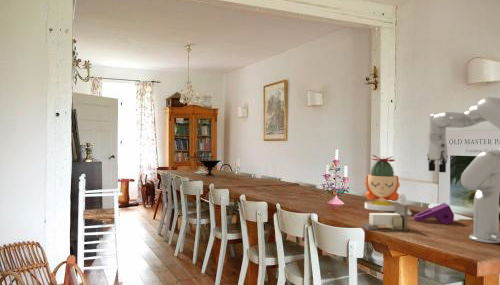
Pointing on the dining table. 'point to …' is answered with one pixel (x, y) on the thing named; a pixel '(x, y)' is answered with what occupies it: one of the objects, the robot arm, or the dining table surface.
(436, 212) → the mounting bracket
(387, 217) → the cream rail
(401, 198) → the seated beast figurine
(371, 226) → the rest block
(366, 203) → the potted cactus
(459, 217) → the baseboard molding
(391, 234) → the dining table surface
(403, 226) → the cup bracket
